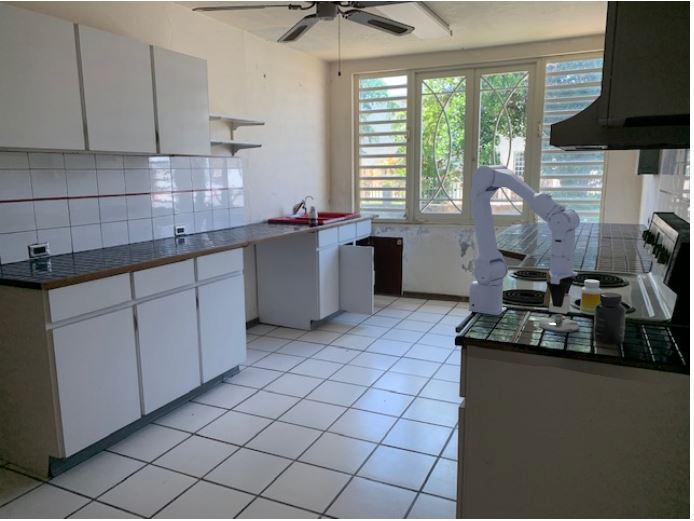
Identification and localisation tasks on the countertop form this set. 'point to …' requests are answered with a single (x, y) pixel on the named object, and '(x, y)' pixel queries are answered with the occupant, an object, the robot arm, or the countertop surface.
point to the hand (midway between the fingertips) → (559, 304)
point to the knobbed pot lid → (558, 324)
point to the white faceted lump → (565, 306)
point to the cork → (547, 292)
